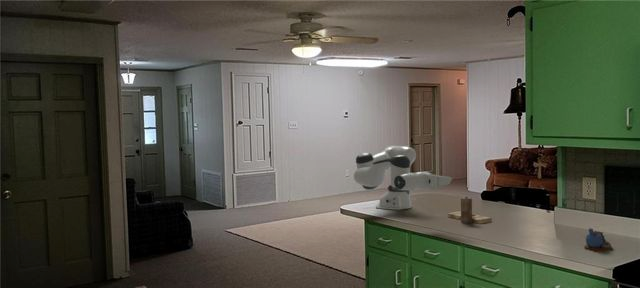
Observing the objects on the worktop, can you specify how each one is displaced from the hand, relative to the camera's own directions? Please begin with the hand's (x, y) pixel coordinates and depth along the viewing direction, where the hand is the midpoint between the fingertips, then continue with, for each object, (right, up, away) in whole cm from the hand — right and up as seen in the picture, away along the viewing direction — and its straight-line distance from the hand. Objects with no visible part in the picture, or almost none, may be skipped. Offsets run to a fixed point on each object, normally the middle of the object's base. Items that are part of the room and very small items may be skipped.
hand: (444, 178), depth 277 cm
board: (+17, -24, +16) cm, 33 cm away
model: (+53, -27, -51) cm, 79 cm away
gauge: (+15, -24, +9) cm, 30 cm away
